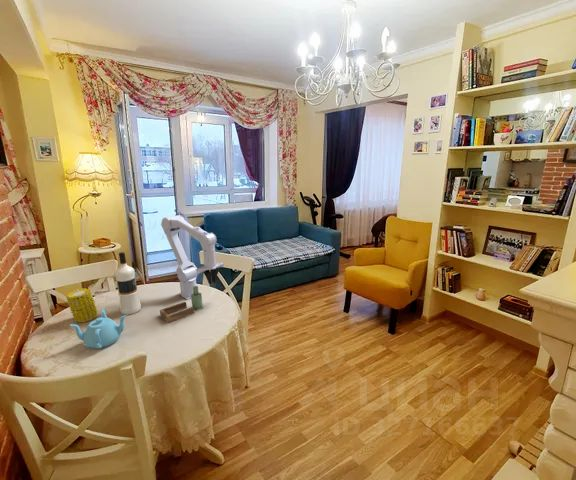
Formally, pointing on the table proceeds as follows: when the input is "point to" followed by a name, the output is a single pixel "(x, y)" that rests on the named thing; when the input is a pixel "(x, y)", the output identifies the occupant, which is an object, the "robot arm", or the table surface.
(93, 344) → the teapot
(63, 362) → the table surface
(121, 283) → the vodka
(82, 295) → the food
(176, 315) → the u rest
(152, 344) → the table surface
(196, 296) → the green bottle
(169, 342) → the table surface
